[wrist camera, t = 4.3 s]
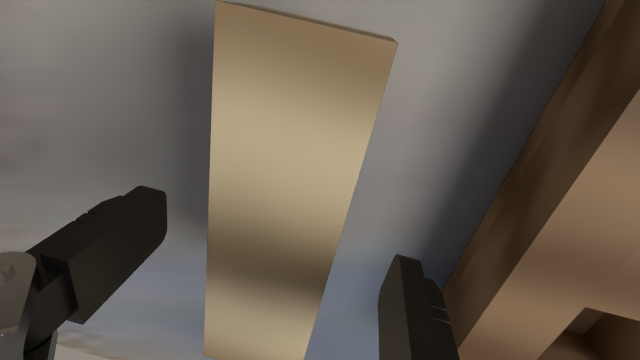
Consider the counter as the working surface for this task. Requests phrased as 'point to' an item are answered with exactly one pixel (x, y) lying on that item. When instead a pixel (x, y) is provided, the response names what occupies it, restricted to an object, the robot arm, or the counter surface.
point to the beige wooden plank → (282, 170)
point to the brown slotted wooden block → (564, 220)
